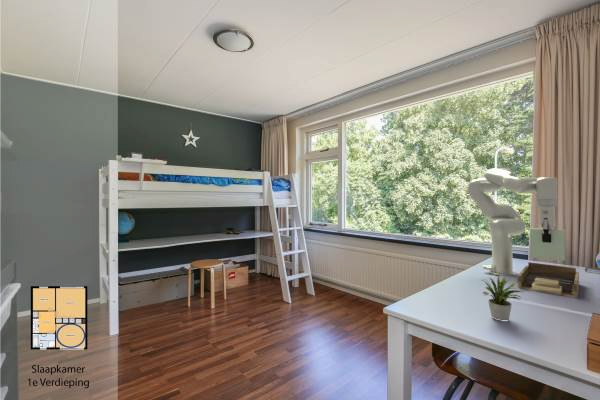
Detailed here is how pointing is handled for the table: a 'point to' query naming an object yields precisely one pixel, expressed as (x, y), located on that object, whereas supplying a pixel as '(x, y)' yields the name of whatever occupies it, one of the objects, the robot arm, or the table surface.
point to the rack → (550, 277)
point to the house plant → (500, 299)
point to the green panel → (547, 245)
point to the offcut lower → (547, 289)
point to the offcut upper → (547, 282)
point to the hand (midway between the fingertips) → (547, 241)
